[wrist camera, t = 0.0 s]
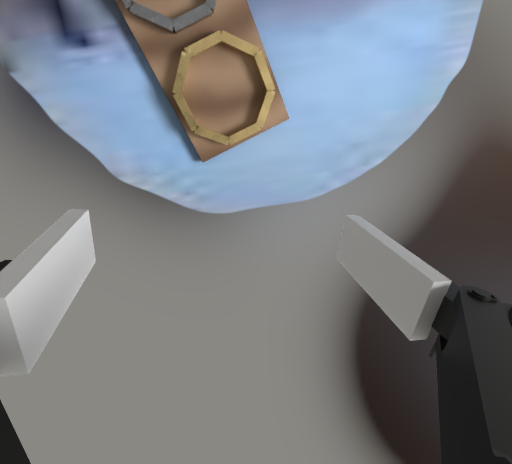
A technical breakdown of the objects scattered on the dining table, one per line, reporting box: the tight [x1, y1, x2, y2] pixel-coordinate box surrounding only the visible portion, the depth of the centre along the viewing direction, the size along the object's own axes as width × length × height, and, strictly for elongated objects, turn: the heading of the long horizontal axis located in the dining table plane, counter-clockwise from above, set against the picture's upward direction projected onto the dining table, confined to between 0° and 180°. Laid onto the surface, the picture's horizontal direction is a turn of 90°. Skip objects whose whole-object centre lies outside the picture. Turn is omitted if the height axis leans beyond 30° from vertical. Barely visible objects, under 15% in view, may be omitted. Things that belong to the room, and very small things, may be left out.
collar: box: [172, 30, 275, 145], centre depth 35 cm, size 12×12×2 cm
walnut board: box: [115, 0, 289, 162], centre depth 33 cm, size 26×13×1 cm, turn 24°
